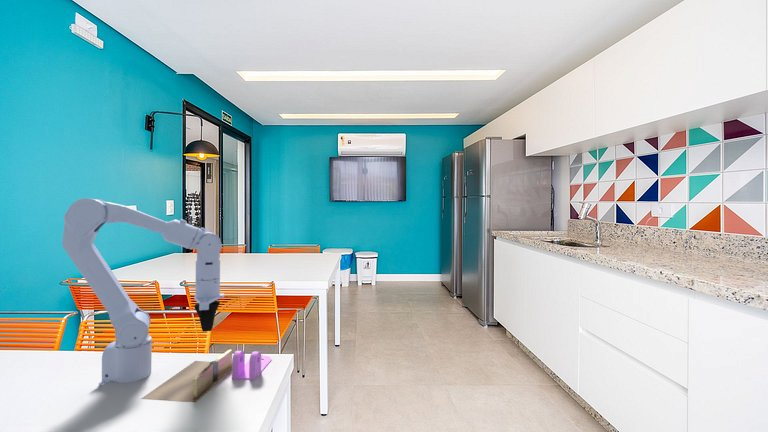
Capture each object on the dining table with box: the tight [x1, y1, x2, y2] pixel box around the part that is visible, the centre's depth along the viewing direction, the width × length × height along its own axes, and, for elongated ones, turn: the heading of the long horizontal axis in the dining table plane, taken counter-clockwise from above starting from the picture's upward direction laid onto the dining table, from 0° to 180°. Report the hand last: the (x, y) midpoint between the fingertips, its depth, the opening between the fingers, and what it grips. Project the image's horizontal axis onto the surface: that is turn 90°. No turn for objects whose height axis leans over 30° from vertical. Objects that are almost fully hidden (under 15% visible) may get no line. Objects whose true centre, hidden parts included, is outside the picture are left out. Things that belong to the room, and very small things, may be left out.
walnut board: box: [141, 360, 232, 403], centre depth 85 cm, size 12×19×1 cm, turn 175°
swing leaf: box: [193, 365, 213, 398], centre depth 80 cm, size 1×7×4 cm, turn 179°
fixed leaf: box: [209, 349, 233, 382], centre depth 88 cm, size 2×9×4 cm, turn 175°
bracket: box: [231, 350, 272, 380], centre depth 93 cm, size 13×6×7 cm, turn 177°
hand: (207, 330), depth 94 cm, fingers closed
